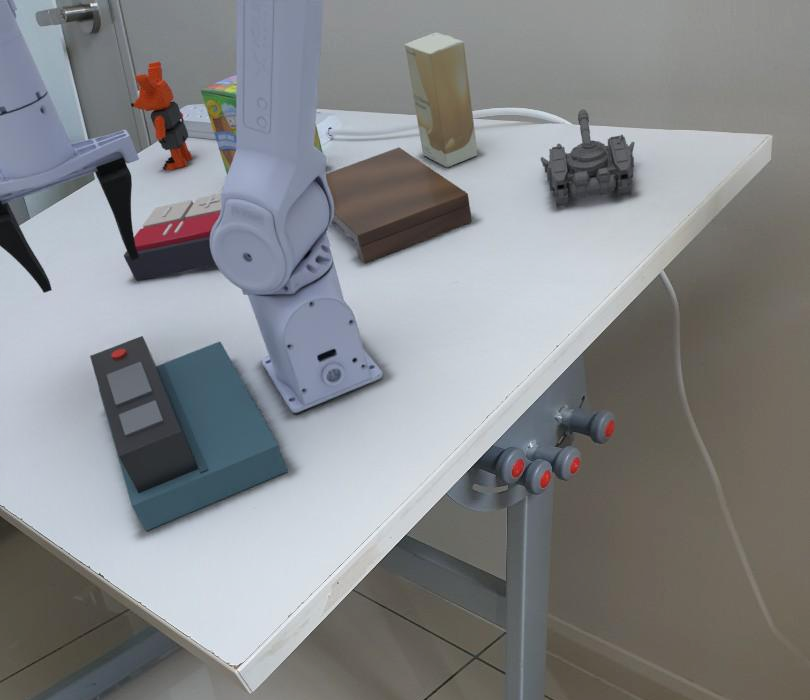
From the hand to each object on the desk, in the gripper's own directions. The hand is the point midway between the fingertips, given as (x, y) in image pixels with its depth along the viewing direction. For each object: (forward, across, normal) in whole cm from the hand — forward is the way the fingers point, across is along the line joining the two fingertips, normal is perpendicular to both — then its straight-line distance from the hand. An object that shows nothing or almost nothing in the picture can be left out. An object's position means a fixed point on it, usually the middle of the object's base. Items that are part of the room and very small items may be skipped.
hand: (90, 271), depth 74 cm
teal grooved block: (+9, -2, +16) cm, 18 cm away
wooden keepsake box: (+9, -30, -11) cm, 34 cm away
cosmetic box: (+10, -42, -20) cm, 48 cm away
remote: (+7, 0, +15) cm, 17 cm away
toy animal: (+10, -15, -51) cm, 54 cm away
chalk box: (+10, -24, -32) cm, 42 cm away
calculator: (+10, -12, -19) cm, 25 cm away
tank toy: (+10, -49, -1) cm, 50 cm away
